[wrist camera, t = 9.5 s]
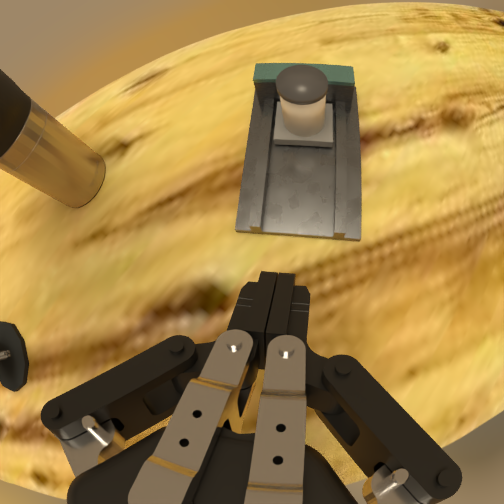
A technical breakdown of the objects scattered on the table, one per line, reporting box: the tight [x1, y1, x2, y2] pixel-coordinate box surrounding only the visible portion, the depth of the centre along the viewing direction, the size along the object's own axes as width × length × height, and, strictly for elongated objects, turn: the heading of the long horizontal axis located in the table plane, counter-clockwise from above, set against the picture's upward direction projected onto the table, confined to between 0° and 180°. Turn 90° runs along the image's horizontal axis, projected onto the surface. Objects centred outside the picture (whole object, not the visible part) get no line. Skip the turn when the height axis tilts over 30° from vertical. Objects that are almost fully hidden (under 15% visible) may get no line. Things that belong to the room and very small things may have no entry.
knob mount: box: [235, 63, 361, 241], centre depth 33 cm, size 14×22×7 cm, turn 174°
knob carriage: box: [274, 65, 333, 147], centre depth 32 cm, size 7×6×8 cm
